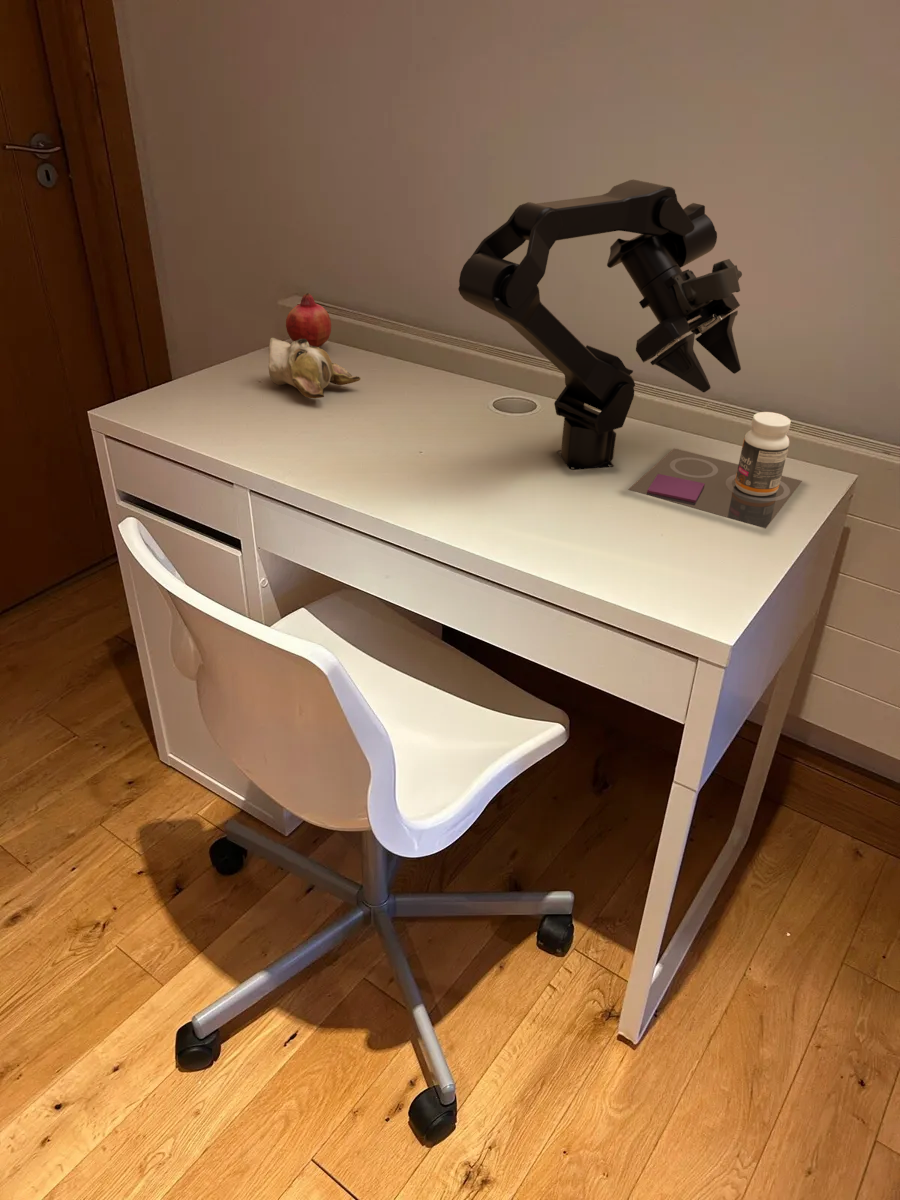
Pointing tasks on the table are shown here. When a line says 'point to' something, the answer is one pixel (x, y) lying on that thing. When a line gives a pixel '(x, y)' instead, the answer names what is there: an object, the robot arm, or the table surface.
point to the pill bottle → (763, 454)
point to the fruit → (309, 322)
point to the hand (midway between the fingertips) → (723, 380)
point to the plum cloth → (676, 488)
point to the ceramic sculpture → (305, 367)
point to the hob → (718, 488)
